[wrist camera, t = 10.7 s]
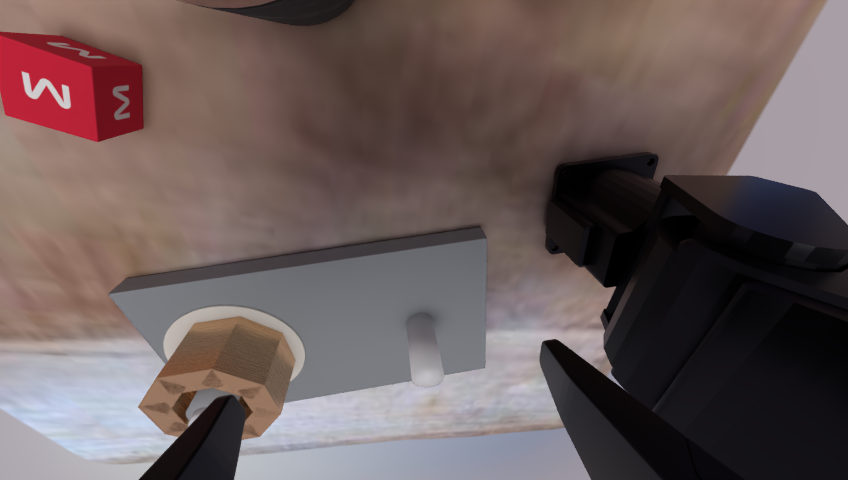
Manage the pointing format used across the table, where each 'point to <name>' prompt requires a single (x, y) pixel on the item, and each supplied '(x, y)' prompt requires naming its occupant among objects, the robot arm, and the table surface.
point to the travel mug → (280, 9)
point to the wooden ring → (223, 374)
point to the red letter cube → (69, 86)
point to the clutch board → (335, 311)
